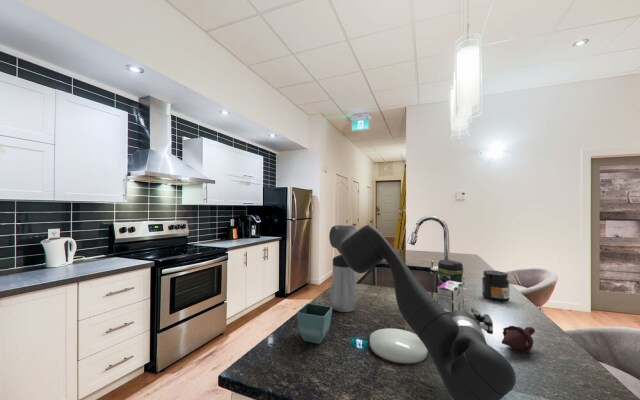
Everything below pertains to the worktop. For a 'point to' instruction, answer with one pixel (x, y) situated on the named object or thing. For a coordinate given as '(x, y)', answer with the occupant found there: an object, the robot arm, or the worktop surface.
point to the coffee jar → (450, 271)
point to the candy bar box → (450, 295)
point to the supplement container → (495, 286)
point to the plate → (398, 345)
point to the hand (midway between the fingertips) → (454, 309)
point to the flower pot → (314, 322)
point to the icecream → (518, 338)
